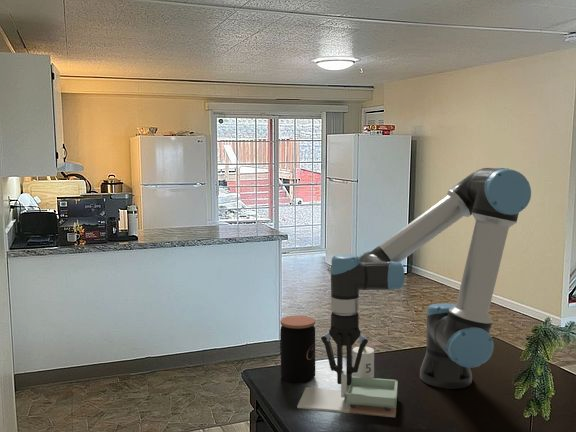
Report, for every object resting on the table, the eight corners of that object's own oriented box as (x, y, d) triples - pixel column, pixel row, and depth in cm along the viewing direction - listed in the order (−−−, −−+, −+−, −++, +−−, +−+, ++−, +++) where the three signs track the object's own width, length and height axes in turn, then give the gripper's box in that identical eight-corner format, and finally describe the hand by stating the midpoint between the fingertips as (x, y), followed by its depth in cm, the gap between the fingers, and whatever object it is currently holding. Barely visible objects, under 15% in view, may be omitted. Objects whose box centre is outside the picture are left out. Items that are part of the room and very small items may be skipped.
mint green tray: (397, 394, 152) (397, 380, 152) (396, 414, 140) (396, 398, 140) (349, 390, 155) (349, 376, 155) (344, 409, 143) (344, 394, 143)
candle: (358, 390, 157) (359, 339, 156) (348, 381, 163) (349, 333, 162) (378, 387, 159) (378, 337, 158) (367, 378, 165) (368, 330, 164)
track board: (396, 396, 153) (397, 395, 153) (395, 417, 140) (395, 415, 140) (306, 388, 158) (306, 387, 158) (297, 407, 146) (297, 406, 146)
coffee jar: (312, 385, 160) (312, 326, 159) (277, 383, 163) (276, 324, 161) (317, 372, 171) (317, 316, 169) (284, 369, 173) (284, 314, 171)
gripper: (370, 309, 149) (369, 391, 152) (323, 306, 152) (323, 387, 155) (367, 317, 142) (367, 403, 144) (318, 314, 145) (318, 399, 147)
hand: (344, 395), depth 149 cm, fingers closed
